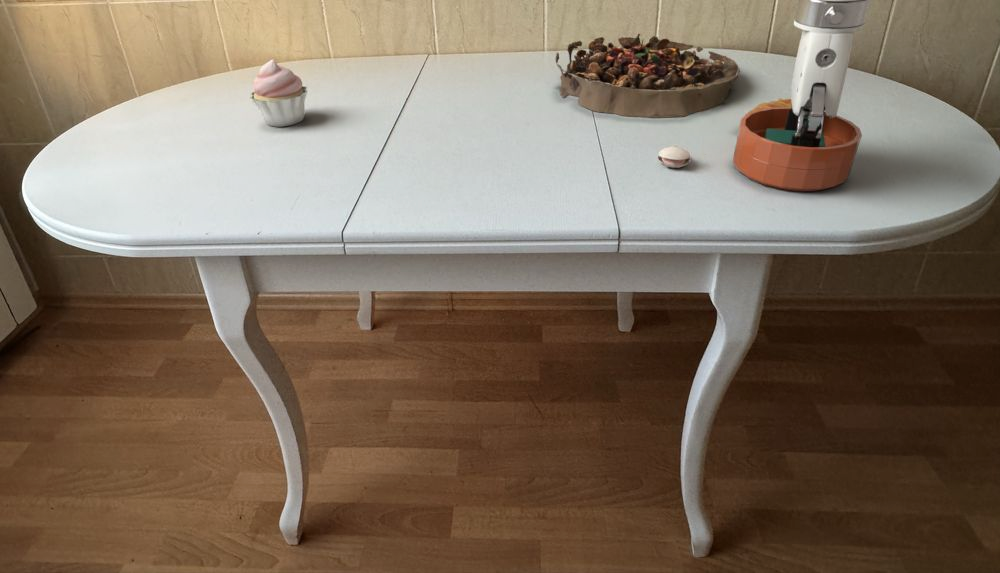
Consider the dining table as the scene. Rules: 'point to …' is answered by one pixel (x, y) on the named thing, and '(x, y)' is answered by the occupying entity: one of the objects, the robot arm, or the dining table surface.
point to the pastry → (774, 104)
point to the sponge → (785, 136)
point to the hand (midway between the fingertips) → (797, 151)
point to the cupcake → (279, 95)
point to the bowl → (795, 152)
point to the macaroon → (674, 157)
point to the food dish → (646, 78)
